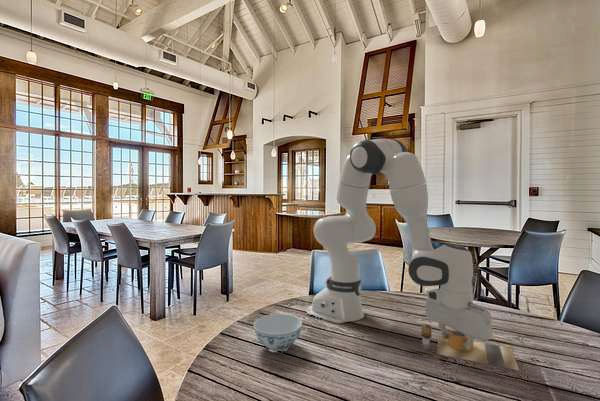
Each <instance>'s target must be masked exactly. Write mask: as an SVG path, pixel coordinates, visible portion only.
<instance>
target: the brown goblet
mask: <svg viewBox="0 0 600 401" xmlns="http://www.w3.org/2000/svg"><path fill="white" fill-rule="evenodd" d="M420 330H421V337H422V342H421V343H422V350H423V351H431V338H432V326H431V325H430V324H426V323H424V324H421V329H420Z"/></svg>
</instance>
